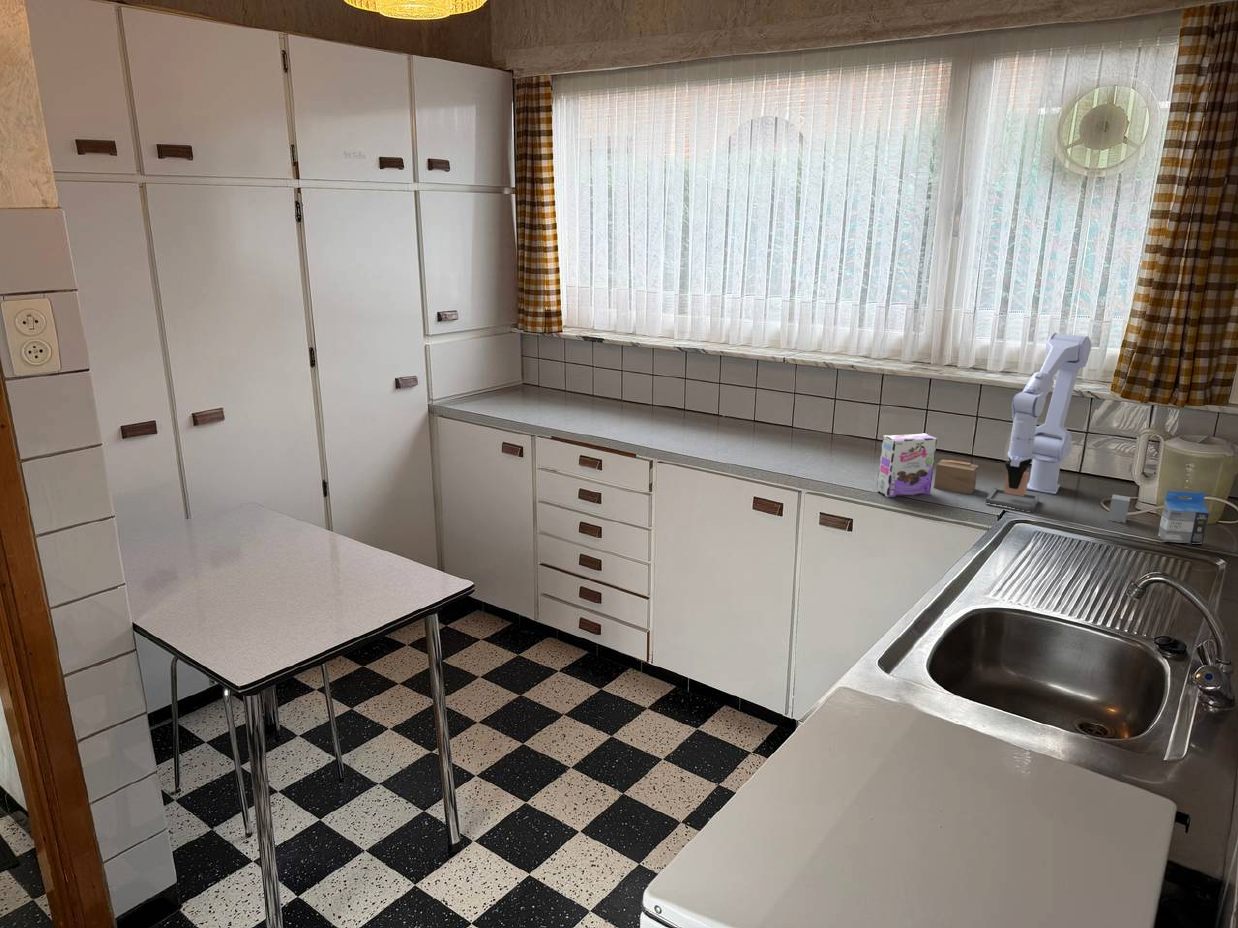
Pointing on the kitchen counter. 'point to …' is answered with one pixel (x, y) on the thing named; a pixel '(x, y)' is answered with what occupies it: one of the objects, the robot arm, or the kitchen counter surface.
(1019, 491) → the terracotta block
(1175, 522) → the label tape box
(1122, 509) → the slate grey block
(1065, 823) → the kitchen counter surface
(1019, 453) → the robot arm
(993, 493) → the charcoal tray
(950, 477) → the box
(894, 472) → the candy box
